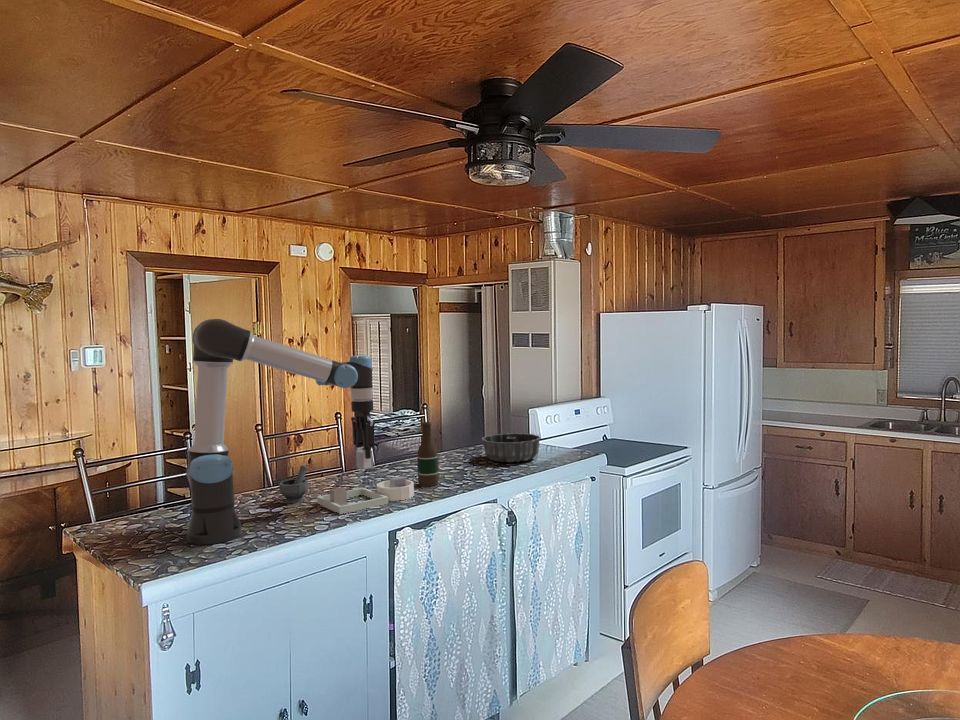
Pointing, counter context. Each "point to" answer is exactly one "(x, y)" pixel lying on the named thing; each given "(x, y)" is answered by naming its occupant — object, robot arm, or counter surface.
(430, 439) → the beer bottle
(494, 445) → the bundt pan
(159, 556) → the counter surface
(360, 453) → the light grey cuboid
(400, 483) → the grey rectangular block
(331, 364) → the robot arm
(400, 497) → the bowl
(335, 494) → the taupe block
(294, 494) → the mortar and pestle
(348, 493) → the square frame
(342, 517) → the counter surface
